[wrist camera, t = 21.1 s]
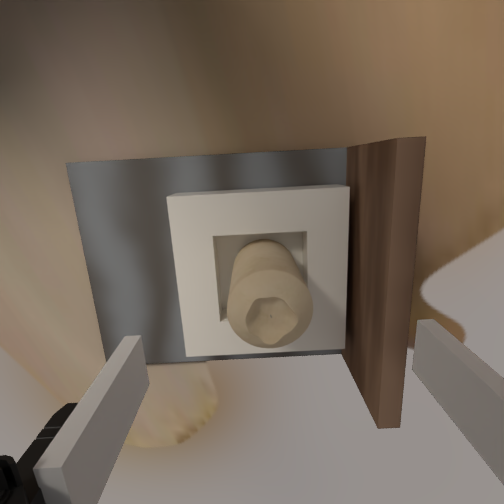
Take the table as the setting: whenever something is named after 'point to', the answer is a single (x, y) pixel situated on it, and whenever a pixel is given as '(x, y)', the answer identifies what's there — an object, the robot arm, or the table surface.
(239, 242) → the holder
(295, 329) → the candle
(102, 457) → the robot arm
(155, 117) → the table surface
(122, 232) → the backstop jig
